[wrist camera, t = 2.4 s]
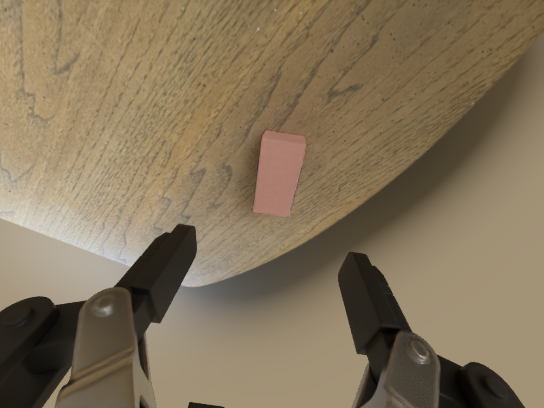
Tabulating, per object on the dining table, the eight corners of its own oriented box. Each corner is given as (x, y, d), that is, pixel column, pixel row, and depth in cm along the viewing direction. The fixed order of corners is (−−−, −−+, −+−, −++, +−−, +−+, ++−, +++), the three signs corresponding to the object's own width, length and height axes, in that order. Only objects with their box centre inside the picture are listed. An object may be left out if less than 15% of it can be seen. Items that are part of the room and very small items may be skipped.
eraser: (304, 136, 17) (307, 145, 15) (289, 202, 21) (289, 218, 19) (265, 129, 17) (261, 136, 15) (256, 196, 21) (252, 211, 18)
